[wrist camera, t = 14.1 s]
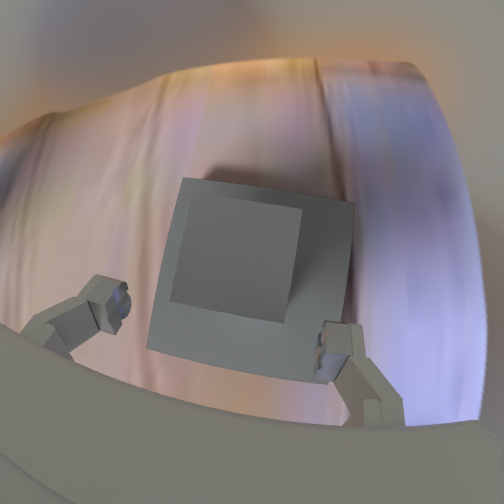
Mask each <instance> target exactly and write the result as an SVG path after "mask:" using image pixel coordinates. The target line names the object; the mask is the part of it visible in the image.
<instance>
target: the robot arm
mask: <svg viewBox="0 0 504 504" xmlns="http://www.w3.org/2000/svg"><path fill="white" fill-rule="evenodd" d="M127 290H128V286H127V283H126V282H124V281H120V280H117V279H113V278H110V277H105V276H102V275H98V274H96V275H94V276H93V277H92V278H91V280H90V281H89V282H88V283H87V284H86V286H85V287H84V288H83V289H82V290H81V292H80V293H79V294H78V295H77V297H71V298H69V299H67V300H65V301H63V302H61V303H59V304H57V305H55V306H52V307H50V308H48V309H46V310H44V311H42V312H40V313H38V314H36V315H34V316H33V317H32V318H31V320H30V321H29V322H28V323H27V325H26V326H25V327H24V329H23V330H22V331H21V333H20V334H19V333H17V332H15V331H13V330H12V329H10V328H8V327H7V326H5V325H3V324H2V323H0V504H503V466H502V455H501V449H500V445H499V442H498V441H497V439H496V438H495V436H494V435H493V434H492V433H491V432H490V431H489V429H488V428H487V427H486V426H485V425H484V424H483V423H482V422H481V421H479V420H467V421H460V422H453V423H444V424H433V425H421V426H405V419H404V409H403V401H402V398H401V397H400V395H399V394H398V393H397V392H396V390H395V389H394V388H393V387H392V385H391V384H390V383H389V382H388V380H387V379H386V378H385V377H384V375H383V374H382V373H381V372H380V370H379V369H378V368H377V367H376V365H375V364H374V363H373V362H372V360H371V359H370V358H366V351H365V343H364V335H363V328H362V325H360V324H352V323H344V322H336V321H328V320H324V322H323V324H322V326H321V333H319V334H318V337H317V340H316V344H315V351H314V357H315V358H316V362H315V364H314V375H313V379H315V380H322V381H330V382H334V385H335V386H336V388H337V390H338V392H339V394H340V395H341V397H342V399H343V401H344V402H345V404H346V406H347V408H348V410H349V411H350V413H351V416H350V417H349V419H348V420H347V421H346V422H345V423H344V424H343V425H342V426H332V425H319V424H308V423H298V422H290V421H282V420H275V419H268V418H261V417H255V416H250V415H244V414H239V413H234V412H229V411H224V410H220V409H215V408H211V407H206V406H202V405H198V404H194V403H190V402H187V401H183V400H179V399H176V398H172V397H169V396H165V395H162V394H159V393H155V392H152V391H149V390H146V389H143V388H140V387H137V386H134V385H131V384H128V383H126V382H123V381H120V380H117V379H115V378H112V377H110V376H107V375H104V374H102V373H99V372H97V371H95V370H92V369H90V368H87V367H85V366H83V365H80V364H78V363H76V362H74V359H73V358H72V356H71V354H70V353H69V352H70V351H72V350H73V349H75V348H76V347H78V346H79V345H81V344H82V343H84V342H85V341H87V340H88V339H89V338H91V337H92V336H94V335H95V334H97V333H98V332H99V331H102V332H106V333H109V334H112V335H116V334H117V332H118V330H119V329H120V327H121V325H122V321H121V320H122V319H124V318H126V317H127V316H128V314H129V312H130V308H131V298H130V296H129V295H128V293H127V292H126V291H127Z"/></svg>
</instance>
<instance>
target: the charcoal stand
mask: <svg viewBox="0 0 504 504" xmlns="http://www.w3.org/2000/svg"><path fill="white" fill-rule="evenodd" d="M193 193H194V194H202V195H210V196H218V197H225V198H233V199H240V200H247V201H254V202H260V203H267V204H273V205H280V206H286V207H292V208H298V209H302V215H301V222H300V229H299V236H298V242H297V249H296V255H295V262H294V268H293V274H292V280H291V286H290V292H289V298H288V304H287V309H286V315H285V320H284V324H282V323H276V322H271V321H265V320H259V319H254V318H248V317H243V316H237V315H232V314H227V313H222V312H217V311H212V310H207V309H203V308H198V307H193V306H189V305H184V304H180V303H175V302H171V301H170V296H171V291H172V286H173V281H174V276H175V271H176V266H177V261H178V257H179V252H180V248H181V243H182V239H183V234H184V230H185V226H186V222H187V217H188V213H189V209H190V205H191V201H192V197H193ZM354 212H355V203H351V202H346V201H341V200H336V199H330V198H325V197H320V196H314V195H308V194H302V193H296V192H290V191H284V190H278V189H271V188H265V187H258V186H251V185H243V184H236V183H228V182H220V181H212V180H203V179H194V178H184V177H183V180H182V183H181V187H180V191H179V194H178V198H177V202H176V206H175V210H174V213H173V217H172V221H171V225H170V230H169V234H168V238H167V242H166V247H165V251H164V256H163V260H162V265H161V269H160V274H159V279H158V284H157V289H156V294H155V300H154V305H153V310H152V316H151V322H150V328H149V334H148V340H147V347H146V348H147V349H151V350H154V351H158V352H161V353H165V354H168V355H172V356H176V357H180V358H183V359H187V360H191V361H195V362H199V363H204V364H208V365H212V366H217V367H221V368H226V369H231V370H236V371H241V372H246V373H251V374H256V375H262V376H268V377H274V378H280V379H287V380H294V381H301V382H309V383H317V384H326V385H328V382H329V381H322V380H315V379H313V375H314V364H315V362H316V358H315V357H314V351H315V344H316V340H317V337H318V334H319V333H321V326H322V324H323V322H324V320H328V321H336V322H341V317H342V311H343V305H344V298H345V292H346V285H347V277H348V270H349V262H350V253H351V244H352V235H353V224H354Z"/></svg>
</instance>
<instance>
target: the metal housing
mask: <svg viewBox="0 0 504 504" xmlns="http://www.w3.org/2000/svg"><path fill="white" fill-rule="evenodd" d="M301 215H302V209H298V208H292V207H286V206H280V205H273V204H267V203H260V202H254V201H247V200H240V199H233V198H225V197H218V196H210V195H202V194H194V193H193V197H192V201H191V205H190V209H189V213H188V217H187V222H186V226H185V230H184V234H183V239H182V243H181V248H180V252H179V257H178V261H177V266H176V271H175V276H174V281H173V286H172V291H171V296H170V301H171V302H175V303H180V304H184V305H189V306H193V307H198V308H203V309H207V310H212V311H217V312H222V313H227V314H232V315H237V316H243V317H248V318H254V319H259V320H265V321H271V322H276V323H282V324H284V320H285V315H286V309H287V304H288V298H289V292H290V286H291V280H292V274H293V268H294V262H295V255H296V249H297V242H298V236H299V229H300V222H301Z"/></svg>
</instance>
